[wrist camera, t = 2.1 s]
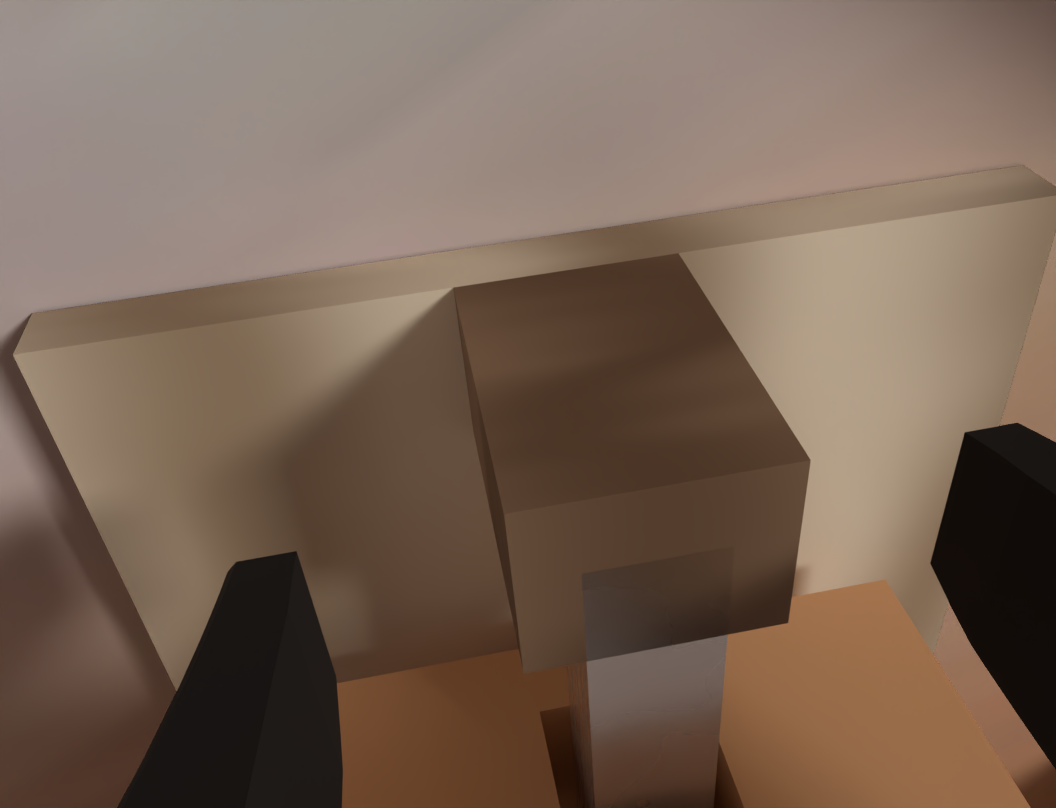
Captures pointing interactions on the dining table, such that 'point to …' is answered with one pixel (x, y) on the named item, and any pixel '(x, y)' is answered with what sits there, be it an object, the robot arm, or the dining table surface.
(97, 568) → the dining table surface
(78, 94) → the dining table surface
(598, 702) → the rod
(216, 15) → the dining table surface
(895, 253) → the board
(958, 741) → the collar
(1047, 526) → the robot arm
